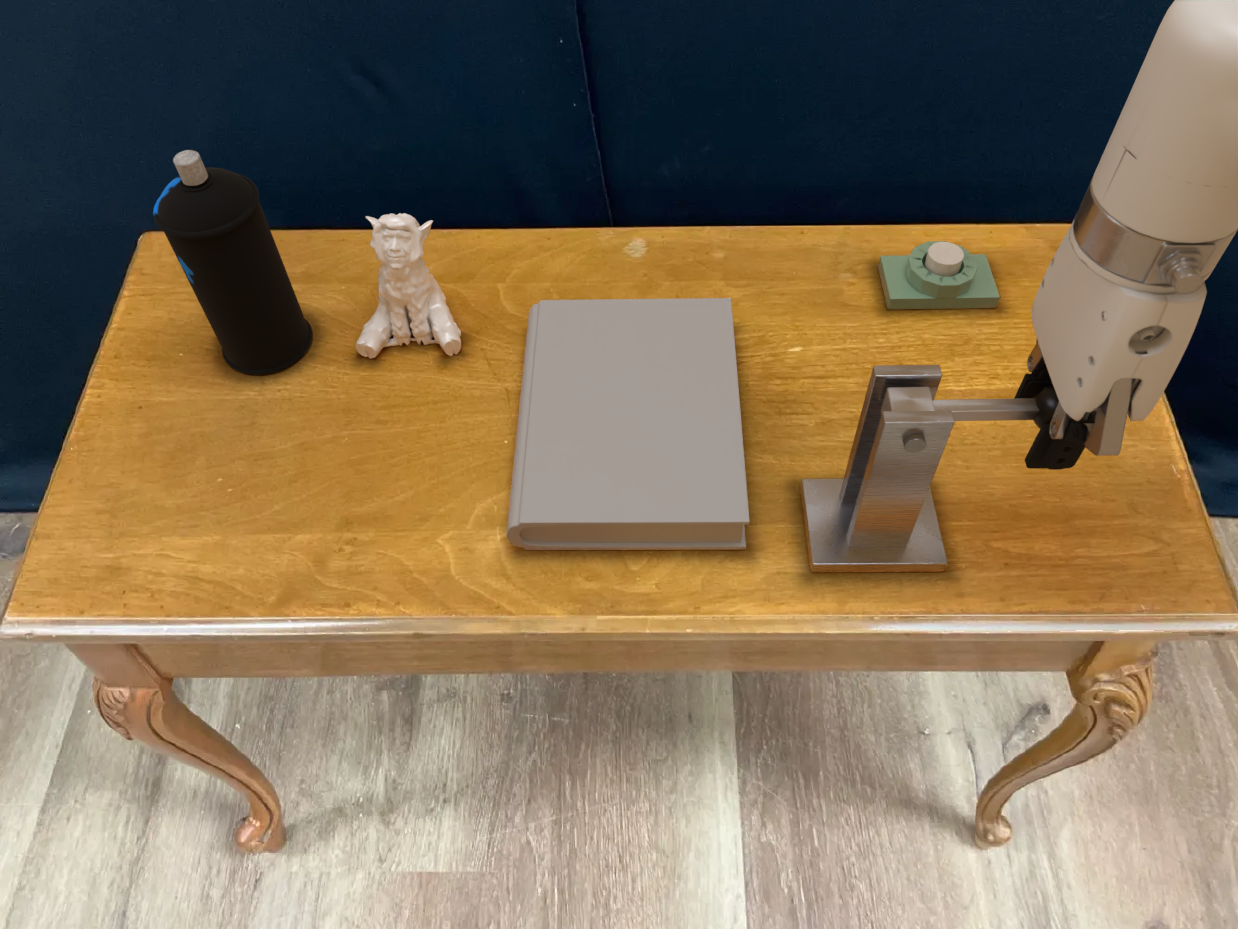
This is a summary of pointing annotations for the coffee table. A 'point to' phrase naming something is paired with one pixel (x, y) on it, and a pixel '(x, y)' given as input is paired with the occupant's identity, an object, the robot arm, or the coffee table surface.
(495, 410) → the coffee table surface
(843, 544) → the lever stand
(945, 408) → the lever with ball knob
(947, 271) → the beige push button
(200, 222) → the aerosol can
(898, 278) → the green push button base
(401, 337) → the sitting furry creature
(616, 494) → the book
